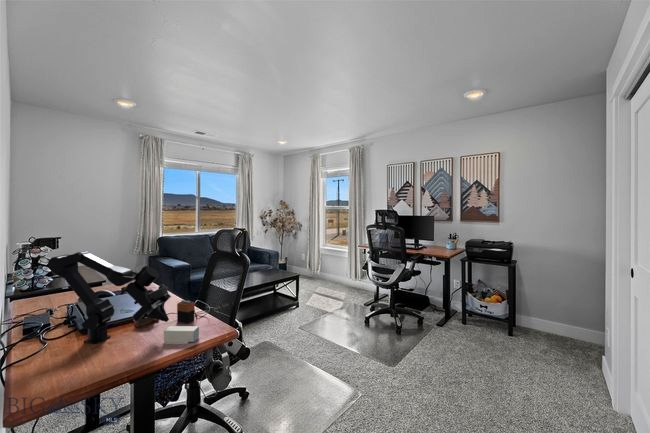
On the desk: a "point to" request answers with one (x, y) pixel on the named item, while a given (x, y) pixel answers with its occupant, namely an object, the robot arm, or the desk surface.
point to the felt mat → (176, 342)
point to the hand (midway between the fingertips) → (167, 320)
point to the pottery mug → (144, 320)
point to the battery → (185, 311)
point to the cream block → (181, 334)
